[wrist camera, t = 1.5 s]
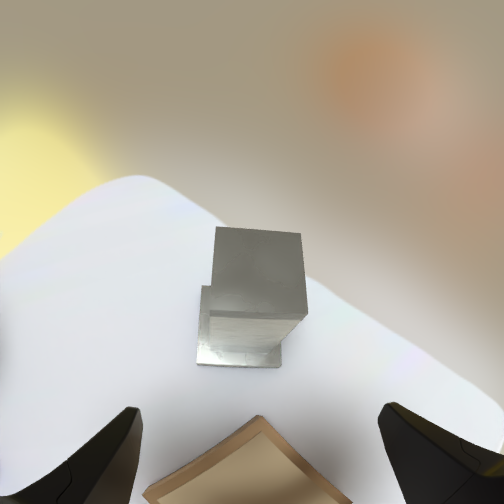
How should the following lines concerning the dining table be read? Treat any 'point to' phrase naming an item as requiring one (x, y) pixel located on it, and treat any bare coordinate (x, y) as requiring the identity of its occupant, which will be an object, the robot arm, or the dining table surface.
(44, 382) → the dining table surface
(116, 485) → the robot arm
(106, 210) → the dining table surface
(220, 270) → the steel housing
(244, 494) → the light tan tray
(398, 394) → the dining table surface
